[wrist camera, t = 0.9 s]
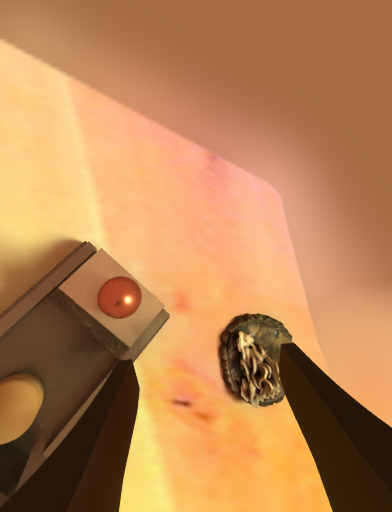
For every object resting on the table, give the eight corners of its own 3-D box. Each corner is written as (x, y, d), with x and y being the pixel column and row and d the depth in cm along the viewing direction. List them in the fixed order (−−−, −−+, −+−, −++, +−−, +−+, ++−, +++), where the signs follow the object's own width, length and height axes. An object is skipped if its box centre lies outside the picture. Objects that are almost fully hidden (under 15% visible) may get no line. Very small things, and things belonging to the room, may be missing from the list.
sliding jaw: (117, 352, 24) (127, 375, 16) (51, 299, 22) (32, 297, 15) (157, 305, 26) (182, 306, 19) (100, 253, 25) (103, 234, 17)
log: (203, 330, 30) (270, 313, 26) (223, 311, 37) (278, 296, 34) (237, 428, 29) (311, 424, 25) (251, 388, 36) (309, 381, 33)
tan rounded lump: (15, 435, 20) (3, 456, 17) (-26, 407, 19) (-46, 424, 17) (55, 391, 22) (50, 404, 19) (18, 363, 21) (7, 372, 18)
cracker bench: (11, 509, 20) (-21, 590, 14) (-123, 426, 18) (-221, 483, 12) (166, 316, 28) (185, 320, 22) (85, 243, 26) (83, 227, 20)
